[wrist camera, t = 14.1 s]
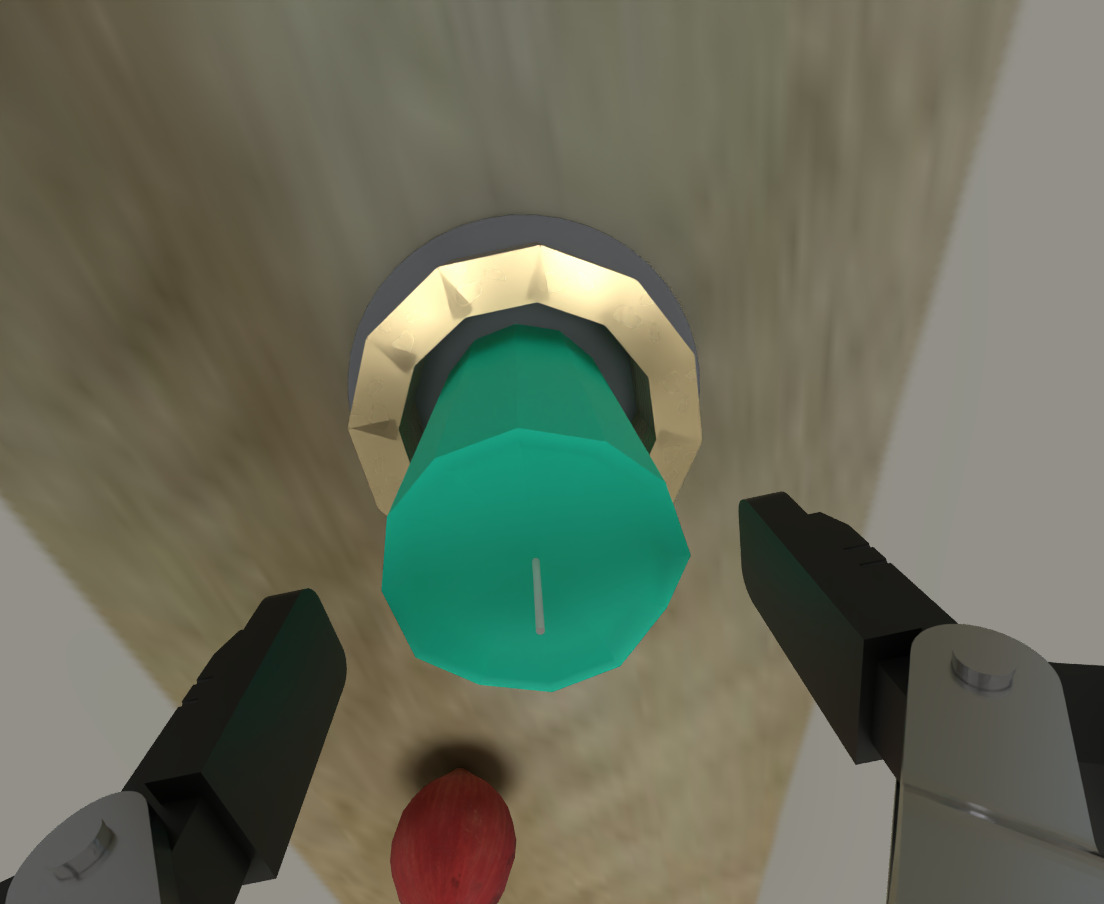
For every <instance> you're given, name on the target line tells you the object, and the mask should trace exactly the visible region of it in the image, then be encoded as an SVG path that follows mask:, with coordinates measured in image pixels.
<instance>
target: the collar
mask: <svg viewBox="0 0 1104 904" xmlns="http://www.w3.org/2000/svg"><path fill="white" fill-rule="evenodd" d="M536 302H538V303H541V304H544V305H547V306H550V307H553V308H556V309H559V310H562V311H565V312H568V313H571V314H574V315H577V316H579V317H582V318H585V319H588V320H591V321H594V322H597V323H600V324H603V325H604V326H605V327H606V328H607V329H608V330H609V332H610V333H611V334H612V335H613V336H614V338H615V339H616V340H617V341H618V342H619V344H620V345H621V346H622V347H623V348H624V350H625V351H626V352H627V353H628V355H629V358H630V365H631V372H632V379H633V386H634V393H635V400H636V408H637V411H636V413H635V416H634V418H633V420H632V423H631V424H632V426H633V428H634V430H635V431H636V433H637V435H638V436H639V438H640V440H641V442H642V443H643V445H644V447H645V448H646V450H647V452H648V453H649V455H650V457H651V459H652V460H653V462H654V464H655V465H656V467H657V469H658V470H659V472H660V474H661V476H662V477H663V479H664V481H665V482H666V485H667V488H668V491H669V494H670V497H671V499H672V502H674V500H675V498H676V496H677V493H678V491H679V489H680V487H681V485H682V483H683V481H684V479H685V477H686V475H687V472H688V470H689V468H690V466H691V464H692V462H693V460H694V458H695V456H696V454H697V451H698V449H699V447H700V445H701V443H702V432H701V420H700V409H699V398H698V387H697V376H696V365H695V355H694V353H693V352H692V351H691V349H690V348H689V347H688V346H687V344H686V343H685V342H684V340H683V339H682V338H681V336H680V335H679V334H678V333H677V331H676V330H675V329H674V327H673V326H672V325H671V323H670V322H669V321H668V320H667V318H666V317H665V316H664V314H663V313H662V312H661V310H660V309H659V308H658V307H657V305H656V304H655V303H654V301H653V300H652V299H651V297H650V296H649V295H648V294H647V292H646V291H645V290H644V288H643V287H642V286H641V285H640V283H639V282H638V281H637V280H636V279H634V278H632V277H629V276H627V275H625V274H623V273H621V272H618V271H616V270H613V269H610V268H608V267H605V266H602V265H599V264H597V263H594V262H591V261H588V260H586V259H583V258H580V257H577V256H574V255H572V254H569V253H566V252H563V251H561V250H558V249H555V248H552V247H550V246H547V245H544V244H541V243H539V242H537V243H536V242H532V243H527V244H523V245H518V246H513V247H509V248H504V249H499V250H495V251H490V252H486V253H481V254H476V255H472V256H467V257H462V258H458V259H453V260H449V261H448V262H446V263H444V264H442V265H441V266H439V267H437V268H436V269H435V270H434V271H433V272H432V273H431V274H430V275H429V276H428V277H427V278H426V279H425V280H424V281H423V282H422V283H421V284H420V285H419V286H418V287H417V288H416V289H415V290H414V291H413V292H412V293H411V294H410V295H409V296H408V297H407V298H406V299H405V300H404V301H403V302H402V303H401V304H400V305H399V306H398V307H397V308H396V309H395V310H394V311H393V312H392V313H391V314H390V315H389V316H388V317H387V318H386V319H385V320H384V321H383V322H382V323H381V324H380V325H379V326H378V327H377V328H376V329H375V330H374V331H373V332H372V333H371V334H370V335H369V336H368V337H367V338H366V342H365V346H364V351H363V356H362V361H361V366H360V371H359V375H358V380H357V385H356V390H355V395H354V400H353V404H352V409H351V414H350V419H349V424H348V430H349V433H350V436H351V438H352V441H353V444H354V446H355V449H356V451H357V454H358V457H359V459H360V462H361V465H362V467H363V470H364V472H365V475H366V478H367V480H368V483H369V486H370V488H371V491H372V493H373V496H374V499H375V501H376V504H377V507H378V508H379V510H380V511H382V512H383V513H384V514H385V515H386V516H388V513H389V511H390V509H391V506H392V504H393V502H394V499H395V497H396V495H397V492H398V490H399V488H400V486H401V483H402V481H403V479H404V476H405V474H406V472H407V469H408V467H409V465H410V463H411V460H412V458H413V456H414V453H415V451H416V449H417V446H418V444H419V442H420V439H421V437H422V435H423V433H424V428H423V425H422V422H421V419H420V416H419V413H418V410H417V406H416V403H415V397H416V393H417V390H418V386H419V382H420V378H421V374H422V370H423V366H424V362H425V358H426V354H427V353H428V352H430V351H431V350H432V349H433V348H434V347H435V346H436V345H437V344H438V343H439V342H440V341H441V340H442V339H443V338H444V337H445V336H446V335H447V334H448V333H450V332H451V331H452V330H453V329H454V328H455V327H456V326H457V325H458V324H459V323H460V322H461V321H462V320H463V319H464V318H466V317H470V316H475V315H480V314H484V313H489V312H494V311H498V310H503V309H508V308H512V307H517V306H522V305H526V304H531V303H536Z"/></svg>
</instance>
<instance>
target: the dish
mask: <svg viewBox="0 0 1104 904" xmlns="http://www.w3.org/2000/svg"><path fill="white" fill-rule="evenodd" d="M532 242H536V243H537V242H539V243H541V244H544V245H547V246H550V247H552V248H555V249H558V250H561V251H563V252H566V253H569V254H572V255H574V256H577V257H580V258H583V259H586V260H588V261H591V262H594V263H597V264H599V265H602V266H605V267H608V268H610V269H613V270H616V271H618V272H621V273H623V274H625V275H627V276H629V277H632V278H634V279H636V280H637V281H638V282H639V283H640V285H641V286H642V287H643V288H644V290H645V291H646V292H647V294H648V295H649V296H650V297H651V299H652V300H653V301H654V303H655V304H656V305H657V307H658V308H659V309H660V310H661V312H662V313H663V314H664V316H665V317H666V318H667V320H668V321H669V322H670V323H671V325H672V326H673V327H674V329H675V330H676V331H677V333H678V334H679V335H680V336H681V338H682V339H683V340H684V342H685V343H686V344H687V346H688V347H689V348H690V349H691V351H692V352H693V353H694V355H695V365H696V376H697V387H698V398H699V393H700V382H699V365H698V358H697V352H696V346H695V343H694V340H693V336H692V333H691V330H690V326H689V324H688V322H687V320H686V317H685V315H684V313H683V311H682V309H681V307H680V305H679V303H678V301H677V300H676V298H675V297H674V295H673V294H672V292H671V291H670V289H669V287H668V286H667V284H666V283H665V282H664V281H663V280H662V279H661V278H660V276H659V275H658V274H657V273H656V272H655V271H654V269H653V268H652V267H651V266H650V265H649V264H648V263H646V262H645V261H644V260H643V259H642V258H641V257H639V256H638V255H637V254H636V253H635V252H634V251H633V250H631V249H629V248H628V247H626V246H625V245H623V244H622V243H620V242H619V241H617V240H616V239H614V238H612V237H611V236H609V235H606V234H604V233H602V232H600V231H598V230H595V229H593V228H591V227H589V226H586V225H583V224H579V223H576V222H573V221H569V220H566V219H561V218H555V217H548V216H541V215H507V216H500V217H493V218H486V219H482V220H479V221H476V222H472V223H469V224H465V225H462V226H459V227H457V228H455V229H453V230H450V231H448V232H446V233H444V234H442V235H439V236H437V237H436V238H434V239H432V240H431V241H429V242H428V243H426V244H425V245H423V246H422V247H420V248H419V249H417V250H415V251H414V252H413V253H412V254H411V255H410V256H408V257H407V258H406V259H405V260H404V261H403V262H402V263H401V264H399V265H398V266H397V267H396V268H395V269H394V270H393V272H392V273H391V274H390V275H389V276H388V277H387V279H386V280H385V281H384V282H383V283H382V284H381V286H380V287H379V289H378V290H377V292H376V293H375V295H374V297H373V298H372V300H371V301H370V303H369V305H368V306H367V308H366V310H365V312H364V315H363V317H362V319H361V322H360V324H359V326H358V328H357V332H356V335H355V339H354V342H353V346H352V350H351V355H350V363H349V371H348V399H349V405H350V412H351V409H352V404H353V400H354V395H355V390H356V385H357V380H358V375H359V371H360V366H361V361H362V356H363V351H364V346H365V342H366V338H367V337H368V336H369V335H370V334H371V333H372V332H373V331H374V330H375V329H376V328H377V327H378V326H379V325H380V324H381V323H382V322H383V321H384V320H385V319H386V318H387V317H388V316H389V315H390V314H391V313H392V312H393V311H394V310H395V309H396V308H397V307H398V306H399V305H400V304H401V303H402V302H403V301H404V300H405V299H406V298H407V297H408V296H409V295H410V294H411V293H412V292H413V291H414V290H415V289H416V288H417V287H418V286H419V285H420V284H421V283H422V282H423V281H424V280H425V279H426V278H427V277H428V276H429V275H430V274H431V273H432V272H433V271H434V270H435V269H436V268H437V267H439V266H441V265H442V264H444V263H446V262H448V261H449V260H453V259H458V258H462V257H467V256H472V255H476V254H481V253H486V252H490V251H495V250H499V249H504V248H509V247H513V246H518V245H523V244H527V243H532ZM514 324H521V325H527V326H534V327H540V328H547V329H553V330H559V331H561V332H562V333H563V334H564V335H565V336H567V337H568V338H569V339H570V340H571V341H573V342H574V343H575V344H576V345H578V346H579V347H580V348H581V349H582V350H584V351H585V352H586V353H587V354H588V355H590V356H591V357H592V358H593V360H594V362H595V363H596V365H597V367H598V368H599V370H600V372H601V373H602V375H603V377H604V379H605V380H606V382H607V384H608V385H609V387H610V389H611V390H612V392H613V394H614V396H615V397H616V399H617V401H618V402H619V404H620V406H621V407H622V409H623V411H624V413H625V414H626V416H627V418H628V419H629V421H630V423H632V420H633V418H634V416H635V413H636V411H637V408H636V400H635V393H634V386H633V379H632V372H631V365H630V358H629V355H628V353H627V352H626V351H625V350H624V348H623V347H622V346H621V345H620V344H619V342H618V341H617V340H616V339H615V338H614V336H613V335H612V334H611V333H610V332H609V330H608V329H607V328H606V327H605V326H604V325H603V324H600V323H597V322H594V321H591V320H588V319H585V318H582V317H579V316H577V315H574V314H571V313H568V312H565V311H562V310H559V309H556V308H553V307H550V306H547V305H544V304H541V303H538V302H536V303H531V304H526V305H522V306H517V307H512V308H508V309H503V310H498V311H494V312H489V313H484V314H480V315H475V316H470V317H466V318H464V319H463V320H462V321H461V322H460V323H459V324H458V325H457V326H456V327H455V328H454V329H453V330H452V331H451V332H450V333H448V334H447V335H446V336H445V337H444V338H443V339H442V340H441V341H440V342H439V343H438V344H437V345H436V346H435V347H434V348H433V349H432V350H431V351H430V352H428V353H427V354H426V358H425V362H424V366H423V370H422V374H421V378H420V382H419V386H418V390H417V393H416V397H415V403H416V406H417V410H418V413H419V416H420V419H421V422H422V425H423V428H424V430H425V428H426V426H427V423H428V421H429V419H430V416H431V414H432V412H433V410H434V407H435V405H436V403H437V400H438V398H439V396H440V393H441V391H442V389H443V386H444V384H445V382H446V380H447V377H448V375H449V373H450V372H451V370H452V369H453V368H454V366H455V365H456V364H457V363H458V361H459V360H460V359H461V357H462V356H463V355H464V353H465V352H466V351H467V349H468V348H469V347H470V345H471V344H472V343H473V341H474V340H476V339H478V338H481V337H483V336H486V335H488V334H491V333H493V332H496V331H498V330H501V329H503V328H506V327H509V326H511V325H514Z"/></svg>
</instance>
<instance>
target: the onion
mask: <svg viewBox="0 0 1104 904" xmlns="http://www.w3.org/2000/svg"><path fill="white" fill-rule="evenodd" d="M515 849H516V837H515V831H514V826H513V821H512V818H511V815H510V812H509V809H508V806H507V805H506V803H505V802H504V800H503V799H502V797H501V795H500V794H499V793H498V792H497V791H496V790H495V789H494V788H493V787H492V786H491V785H490V784H488V783H487V782H486V781H485V780H483V779H481V778H479V777H477V776H475V775H473V774H471V773H470V772H469V771H468V770H466V769H462V768H457V769H455V770H453V771H451V772H449V773H448V774H447V775H444V776H442V777H440V778H437V779H435V780H433V781H432V782H430V783H429V784H428V785H426V786H425V787H424V788H423V789H421V790H420V791H419V792H418V793H417V794H416V795H415V796H414V797H413V799H412V800H411V801H410V803H409V804H408V805H407V807H406V808H405V810H404V811H403V813H402V815H401V818H400V821H399V824H398V827H397V829H396V832H395V835H394V838H393V841H392V847H391V857H390V863H391V871H392V877H393V881H394V884H395V887H396V890H397V894H398V898H399V901H400V903H401V904H497V903H498V902H499V900H500V898H501V896H502V894H503V892H504V890H505V886H506V883H507V880H508V877H509V874H510V870H511V867H512V864H513V861H514V858H515Z"/></svg>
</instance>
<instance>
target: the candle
mask: <svg viewBox="0 0 1104 904" xmlns="http://www.w3.org/2000/svg"><path fill="white" fill-rule="evenodd" d="M690 556H691V555H690V552H689V549H688V546H687V543H686V540H685V537H684V534H683V531H682V529H681V526H680V523H679V520H678V517H677V514H676V511H675V508H674V505H673V502H672V499H671V497H670V494H669V491H668V488H667V485H666V482H665V481H664V479H663V477H662V476H661V474H660V472H659V470H658V469H657V467H656V465H655V464H654V462H653V460H652V459H651V457H650V455H649V453H648V452H647V450H646V448H645V447H644V445H643V443H642V442H641V440H640V438H639V436H638V435H637V433H636V431H635V430H634V428H633V426H632V424H631V423H630V421H629V419H628V418H627V416H626V414H625V413H624V411H623V409H622V407H621V406H620V404H619V402H618V401H617V399H616V397H615V396H614V394H613V392H612V390H611V389H610V387H609V385H608V384H607V382H606V380H605V379H604V377H603V375H602V373H601V372H600V370H599V368H598V367H597V365H596V363H595V362H594V360H593V358H592V357H591V356H590V355H588V354H587V353H586V352H585V351H584V350H582V349H581V348H580V347H579V346H578V345H576V344H575V343H574V342H573V341H571V340H570V339H569V338H568V337H567V336H565V335H564V334H563V333H562V332H561V331H559V330H553V329H547V328H540V327H534V326H527V325H521V324H514V325H511V326H509V327H506V328H503V329H501V330H498V331H496V332H493V333H491V334H488V335H486V336H483V337H481V338H478V339H476V340H474V341H473V343H472V344H471V345H470V347H469V348H468V349H467V351H466V352H465V353H464V355H463V356H462V357H461V359H460V360H459V361H458V363H457V364H456V365H455V366H454V368H453V369H452V370H451V372H450V373H449V375H448V377H447V380H446V382H445V384H444V386H443V389H442V391H441V393H440V396H439V398H438V400H437V403H436V405H435V407H434V410H433V412H432V414H431V416H430V419H429V421H428V423H427V426H426V428H425V430H424V433H423V435H422V437H421V439H420V442H419V444H418V446H417V449H416V451H415V453H414V456H413V458H412V460H411V463H410V465H409V467H408V469H407V472H406V474H405V476H404V479H403V481H402V483H401V486H400V488H399V490H398V492H397V495H396V497H395V499H394V502H393V504H392V506H391V509H390V511H389V513H388V516H387V523H386V537H385V550H384V564H383V577H382V593H383V595H384V597H385V598H386V600H387V602H388V604H389V606H390V608H391V610H392V612H393V614H394V616H395V618H396V620H397V622H398V624H399V626H400V628H401V630H402V632H403V634H404V636H405V638H406V640H407V642H408V643H409V645H410V647H411V649H412V651H413V653H414V655H415V657H416V658H418V659H420V660H423V661H425V662H427V663H430V664H432V665H434V666H437V667H439V668H442V669H444V670H446V671H449V672H451V673H453V674H456V675H458V676H460V677H463V678H465V679H467V680H470V681H472V682H474V683H477V684H479V685H487V686H497V687H507V688H517V689H527V690H537V691H547V692H554V691H556V690H559V689H562V688H564V687H567V686H569V685H572V684H575V683H577V682H580V681H583V680H585V679H588V678H591V677H593V676H596V675H598V674H601V673H604V672H606V671H609V670H612V669H614V668H617V667H619V666H621V665H622V663H623V662H624V661H625V660H626V658H627V657H628V656H629V655H630V653H631V652H632V651H633V650H634V648H635V647H636V646H637V645H638V643H639V642H640V641H641V640H642V638H643V637H644V636H645V635H646V633H647V632H648V631H649V630H650V628H651V627H652V626H653V624H654V623H655V622H656V621H657V619H658V618H659V617H660V616H661V614H662V613H663V612H664V611H665V609H666V608H667V606H668V604H669V602H670V599H671V597H672V595H673V593H674V591H675V589H676V586H677V584H678V582H679V580H680V578H681V575H682V573H683V571H684V569H685V567H686V564H687V562H688V560H689V558H690Z"/></svg>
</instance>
